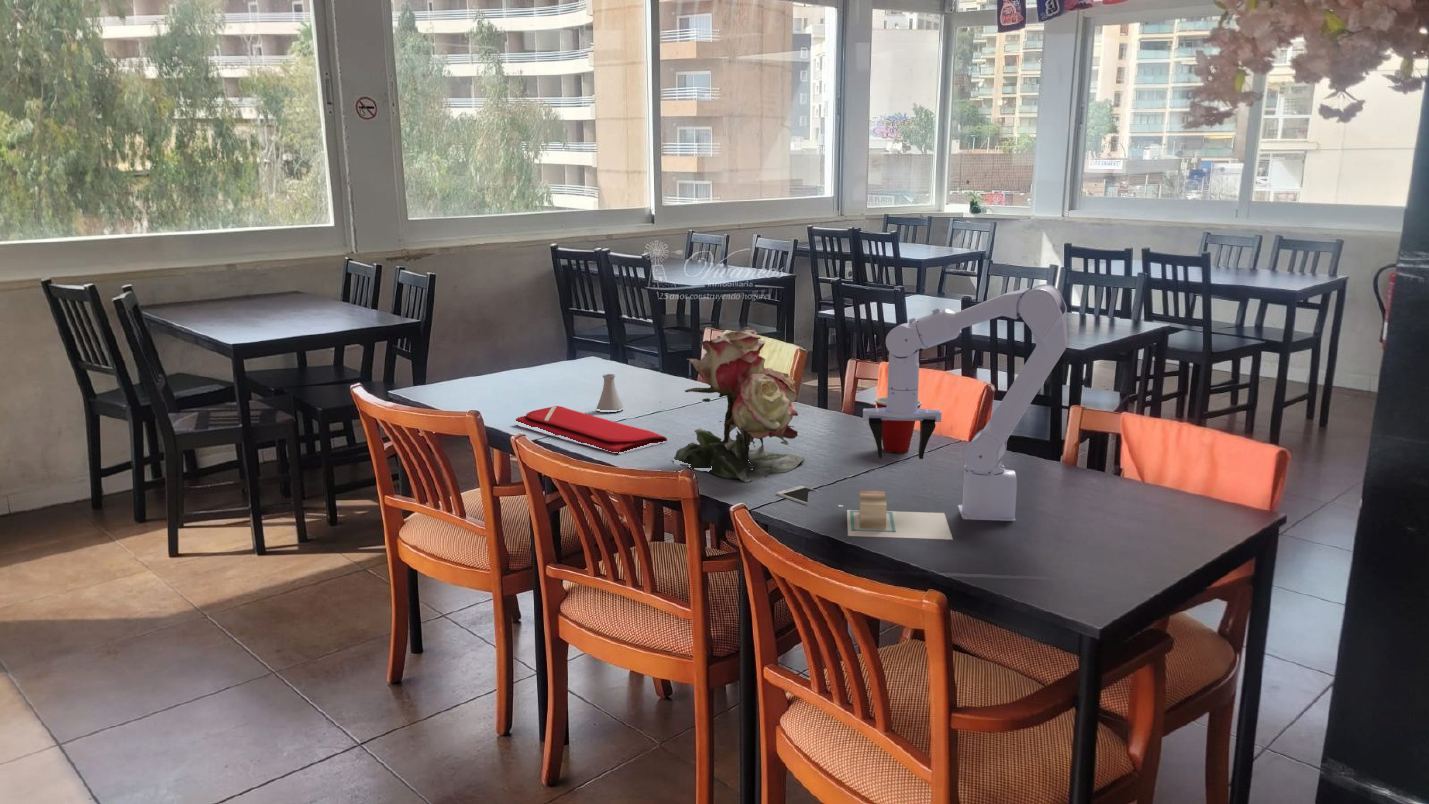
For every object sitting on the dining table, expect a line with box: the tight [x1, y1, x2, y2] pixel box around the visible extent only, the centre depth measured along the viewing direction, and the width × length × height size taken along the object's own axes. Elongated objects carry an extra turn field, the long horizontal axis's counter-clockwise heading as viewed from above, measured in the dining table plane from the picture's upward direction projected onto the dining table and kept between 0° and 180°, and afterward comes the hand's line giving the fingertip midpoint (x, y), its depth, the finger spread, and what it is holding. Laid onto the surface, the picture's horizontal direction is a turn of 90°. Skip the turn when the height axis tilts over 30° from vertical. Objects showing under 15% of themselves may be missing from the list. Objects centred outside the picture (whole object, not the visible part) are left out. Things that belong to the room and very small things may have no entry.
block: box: [858, 490, 888, 529], centre depth 182 cm, size 8×5×4 cm, turn 173°
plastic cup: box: [874, 396, 923, 454], centre depth 231 cm, size 11×11×12 cm
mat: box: [846, 509, 954, 541], centre depth 181 cm, size 18×14×1 cm
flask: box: [596, 373, 624, 410], centre depth 272 cm, size 7×7×10 cm
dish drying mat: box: [515, 405, 668, 453], centre depth 248 cm, size 16×41×4 cm, turn 46°
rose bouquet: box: [659, 326, 806, 483], centre depth 219 cm, size 26×29×30 cm
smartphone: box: [775, 485, 844, 508], centre depth 196 cm, size 7×16×1 cm, turn 40°
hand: (900, 457), depth 192 cm, fingers open, 7 cm apart
